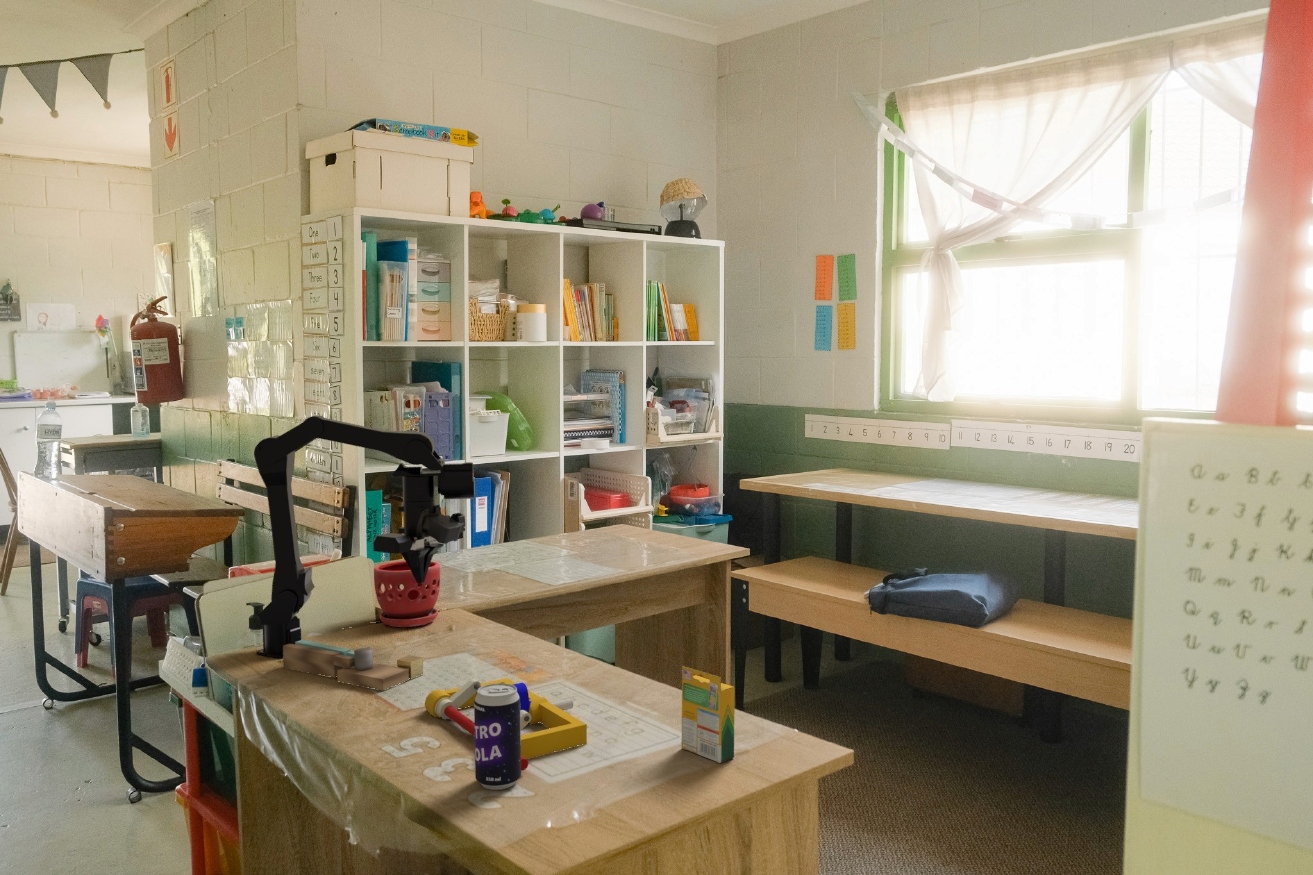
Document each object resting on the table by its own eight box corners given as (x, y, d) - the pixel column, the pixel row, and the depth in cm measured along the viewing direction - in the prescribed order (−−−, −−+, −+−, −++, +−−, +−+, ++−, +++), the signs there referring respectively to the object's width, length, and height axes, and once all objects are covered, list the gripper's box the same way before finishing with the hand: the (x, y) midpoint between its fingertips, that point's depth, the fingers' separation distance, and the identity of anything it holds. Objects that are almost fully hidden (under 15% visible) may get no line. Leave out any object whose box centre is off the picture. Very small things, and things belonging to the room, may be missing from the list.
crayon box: (735, 757, 131) (735, 672, 130) (720, 764, 129) (720, 677, 128) (695, 742, 136) (695, 661, 135) (680, 748, 134) (680, 665, 133)
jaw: (365, 675, 166) (364, 652, 166) (358, 677, 165) (357, 654, 165) (303, 661, 174) (302, 639, 173) (296, 664, 172) (295, 641, 172)
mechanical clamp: (509, 734, 124) (421, 673, 149) (509, 782, 125) (421, 713, 149) (630, 706, 134) (529, 653, 159) (630, 750, 135) (529, 691, 160)
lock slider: (423, 674, 166) (422, 657, 166) (411, 679, 164) (410, 662, 163) (409, 672, 168) (409, 655, 168) (397, 677, 165) (396, 659, 165)
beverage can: (475, 775, 126) (474, 683, 125) (520, 771, 127) (519, 680, 126) (475, 794, 120) (473, 698, 119) (522, 790, 121) (520, 695, 120)
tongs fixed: (408, 680, 163) (408, 651, 163) (383, 691, 158) (382, 660, 158) (304, 661, 174) (304, 633, 174) (277, 670, 169) (276, 641, 169)
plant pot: (452, 616, 205) (451, 560, 204) (419, 632, 193) (417, 572, 192) (397, 612, 209) (396, 556, 208) (361, 627, 197) (360, 568, 196)
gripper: (418, 509, 170) (419, 598, 171) (485, 496, 186) (486, 577, 187) (369, 505, 175) (371, 591, 176) (439, 493, 191) (440, 572, 192)
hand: (420, 582), depth 183 cm, fingers closed
